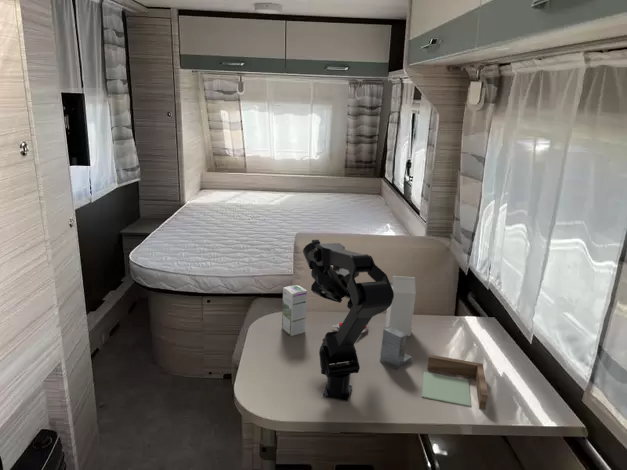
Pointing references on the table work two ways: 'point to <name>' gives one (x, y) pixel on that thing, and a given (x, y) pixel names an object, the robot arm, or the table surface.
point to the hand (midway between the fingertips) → (352, 306)
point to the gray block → (394, 348)
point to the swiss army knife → (341, 324)
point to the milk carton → (402, 304)
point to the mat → (446, 389)
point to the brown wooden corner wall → (462, 373)
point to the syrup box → (294, 309)
